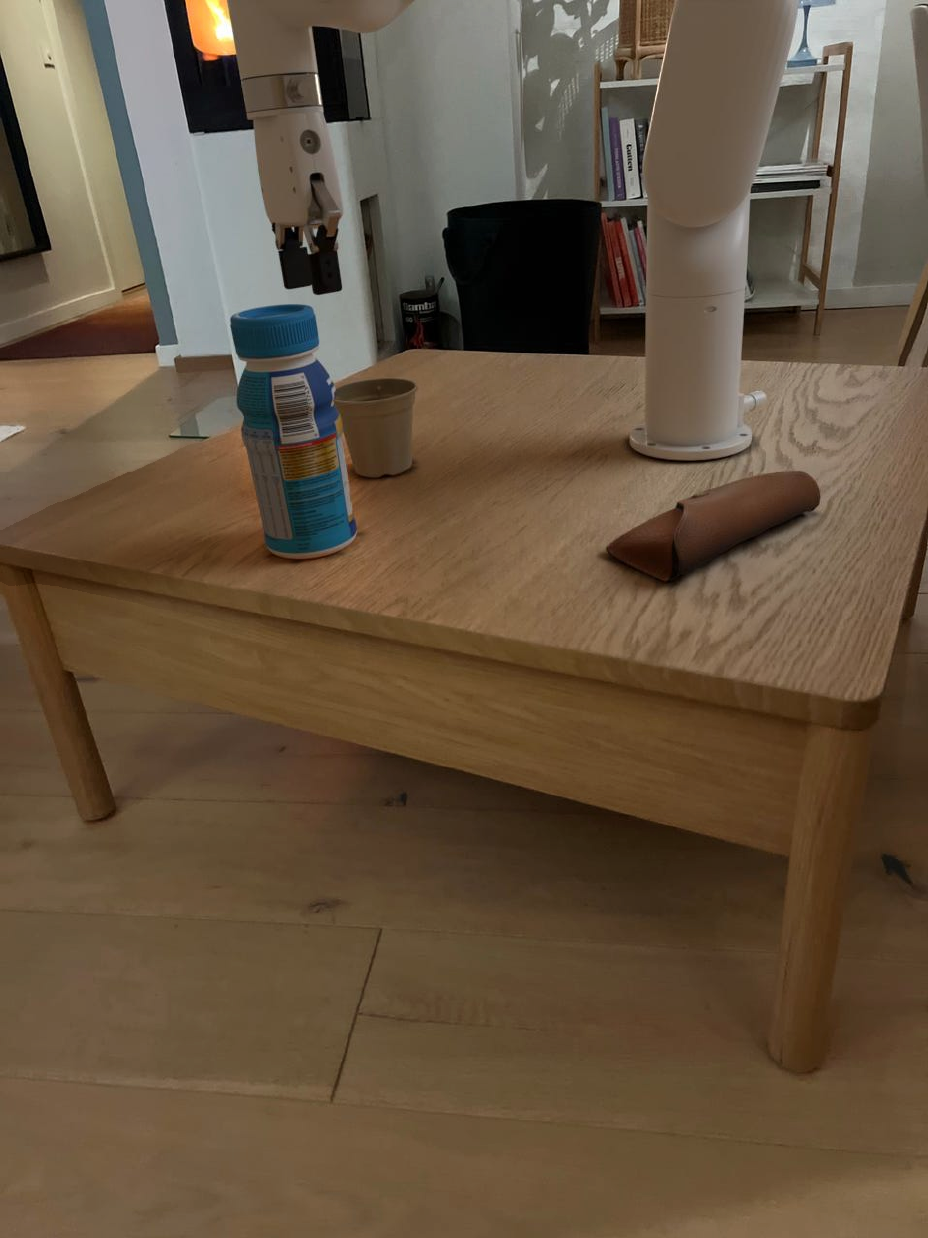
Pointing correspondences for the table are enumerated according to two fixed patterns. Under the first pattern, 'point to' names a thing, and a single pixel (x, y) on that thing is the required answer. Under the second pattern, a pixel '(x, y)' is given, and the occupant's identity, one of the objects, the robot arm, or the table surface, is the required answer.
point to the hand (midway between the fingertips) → (312, 288)
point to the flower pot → (378, 424)
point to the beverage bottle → (292, 433)
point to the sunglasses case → (714, 523)
